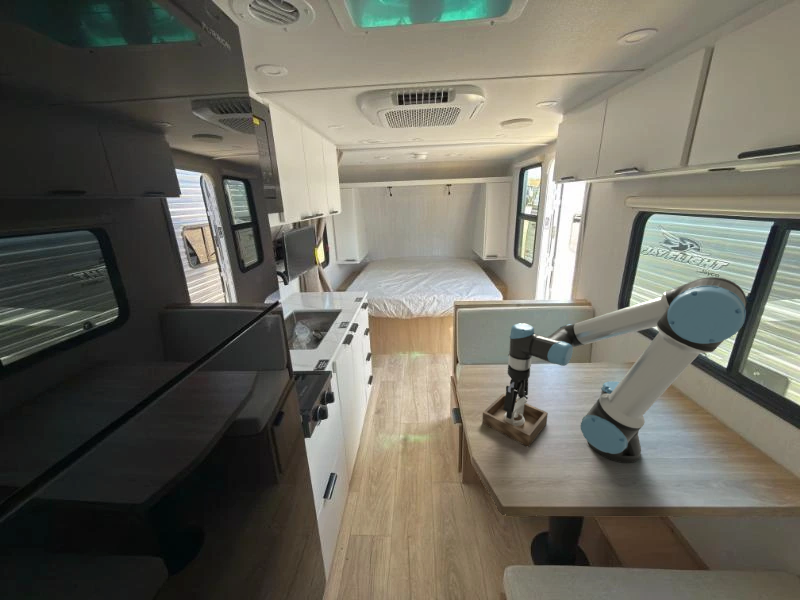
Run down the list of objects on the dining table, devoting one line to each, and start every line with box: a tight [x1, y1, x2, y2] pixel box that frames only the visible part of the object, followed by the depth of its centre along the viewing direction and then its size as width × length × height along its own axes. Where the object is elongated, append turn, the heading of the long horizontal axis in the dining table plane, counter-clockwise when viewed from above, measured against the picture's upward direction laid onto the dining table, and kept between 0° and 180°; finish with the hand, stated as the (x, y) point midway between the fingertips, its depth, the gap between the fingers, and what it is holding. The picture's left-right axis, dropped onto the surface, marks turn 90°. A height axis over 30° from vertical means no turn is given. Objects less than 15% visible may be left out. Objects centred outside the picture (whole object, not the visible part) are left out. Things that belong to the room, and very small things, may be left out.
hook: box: [504, 397, 528, 426], centre depth 115 cm, size 8×12×7 cm
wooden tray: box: [482, 393, 549, 448], centre depth 117 cm, size 18×16×5 cm
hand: (514, 418), depth 117 cm, fingers closed on hook, 8 cm apart
